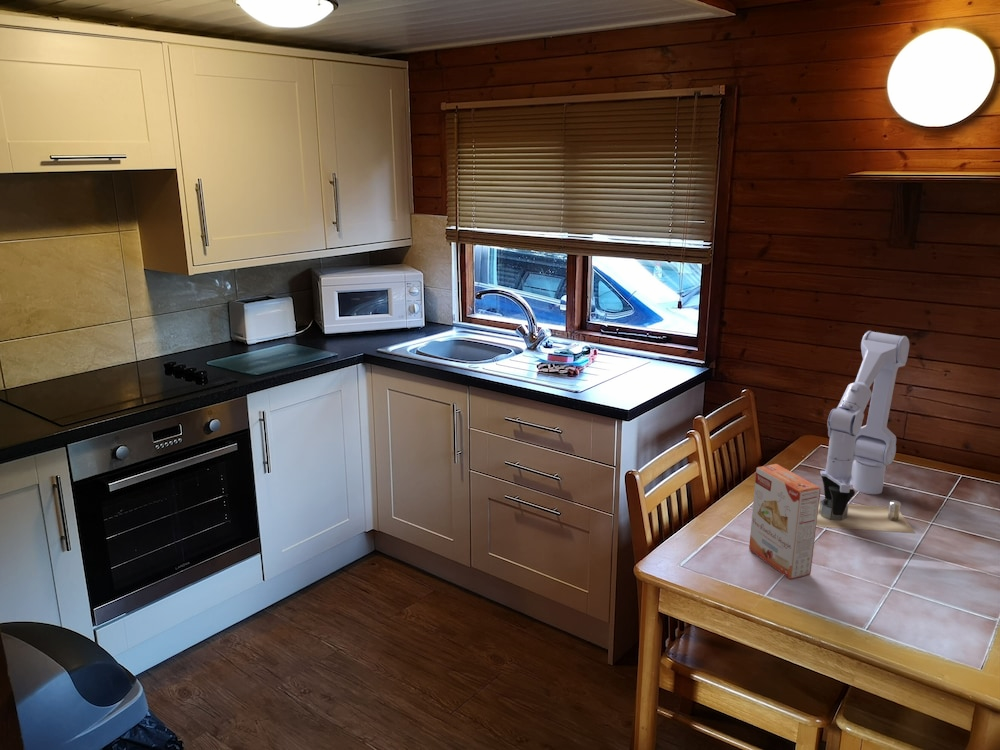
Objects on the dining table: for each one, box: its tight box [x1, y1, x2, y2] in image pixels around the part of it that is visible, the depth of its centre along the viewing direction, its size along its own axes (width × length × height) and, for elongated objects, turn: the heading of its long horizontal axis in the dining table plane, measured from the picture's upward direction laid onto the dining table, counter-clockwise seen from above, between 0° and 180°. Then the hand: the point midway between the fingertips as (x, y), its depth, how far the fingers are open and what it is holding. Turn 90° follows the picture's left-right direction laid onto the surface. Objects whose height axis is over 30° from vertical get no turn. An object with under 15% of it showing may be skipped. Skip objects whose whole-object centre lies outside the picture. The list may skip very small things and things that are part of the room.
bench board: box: [816, 501, 916, 534], centre depth 192 cm, size 14×22×1 cm, turn 81°
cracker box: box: [748, 463, 822, 580], centre depth 170 cm, size 14×6×21 cm, turn 21°
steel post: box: [888, 499, 902, 521], centre depth 189 cm, size 3×2×4 cm
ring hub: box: [819, 498, 848, 521], centre depth 192 cm, size 6×6×3 cm
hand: (833, 507), depth 192 cm, fingers open, 7 cm apart
